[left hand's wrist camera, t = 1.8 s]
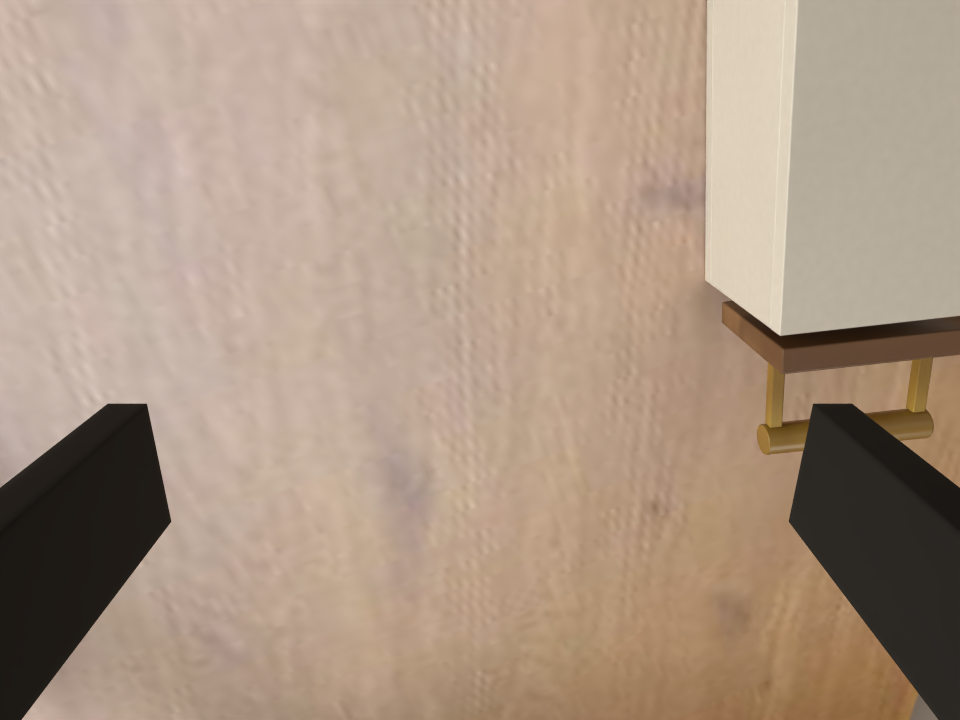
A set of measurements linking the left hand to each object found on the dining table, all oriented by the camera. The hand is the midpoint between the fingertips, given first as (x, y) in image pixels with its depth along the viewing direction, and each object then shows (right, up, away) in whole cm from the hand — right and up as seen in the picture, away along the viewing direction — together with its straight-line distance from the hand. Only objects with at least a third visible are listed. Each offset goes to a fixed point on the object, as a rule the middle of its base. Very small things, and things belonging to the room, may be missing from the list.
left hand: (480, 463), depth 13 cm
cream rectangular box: (+16, +15, +19) cm, 29 cm away
